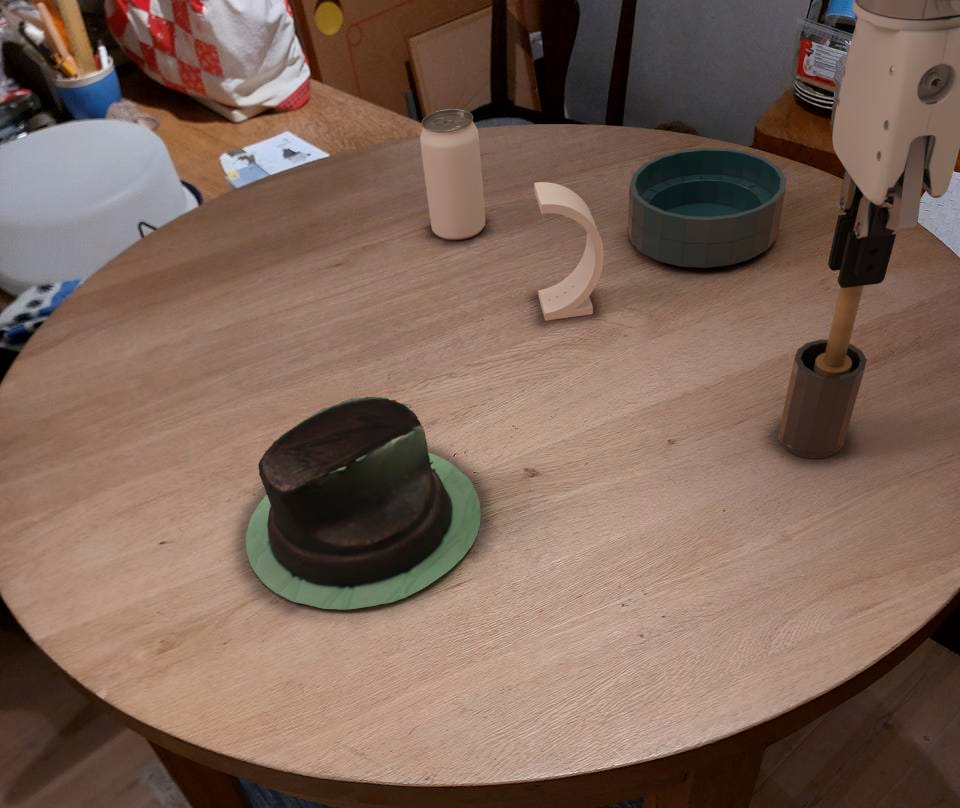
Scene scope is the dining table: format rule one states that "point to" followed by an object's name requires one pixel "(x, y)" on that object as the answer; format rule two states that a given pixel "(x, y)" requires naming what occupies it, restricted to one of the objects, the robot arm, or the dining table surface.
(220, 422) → the dining table surface
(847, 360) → the stick
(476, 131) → the can
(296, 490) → the dark brown green hat
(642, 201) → the bowl
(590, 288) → the headphone stand
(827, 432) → the utensil pot
